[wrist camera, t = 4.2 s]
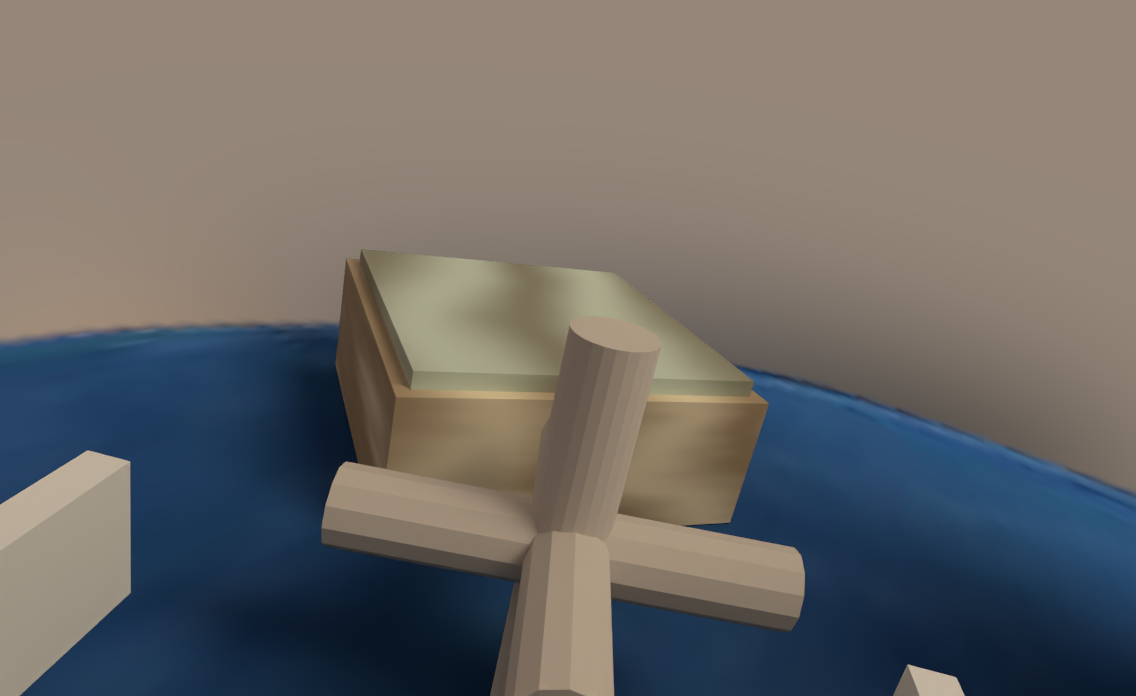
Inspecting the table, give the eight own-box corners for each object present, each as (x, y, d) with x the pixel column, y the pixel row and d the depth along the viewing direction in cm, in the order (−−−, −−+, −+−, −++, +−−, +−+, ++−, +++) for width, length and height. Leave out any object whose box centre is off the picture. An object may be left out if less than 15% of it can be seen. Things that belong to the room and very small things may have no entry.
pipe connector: (699, 615, 23) (799, 307, 20) (772, 991, 14) (989, 529, 10) (373, 554, 23) (416, 229, 19) (218, 898, 13) (248, 384, 10)
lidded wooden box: (595, 373, 39) (619, 270, 37) (729, 522, 28) (773, 388, 26) (335, 364, 34) (347, 244, 32) (376, 543, 23) (398, 378, 21)
